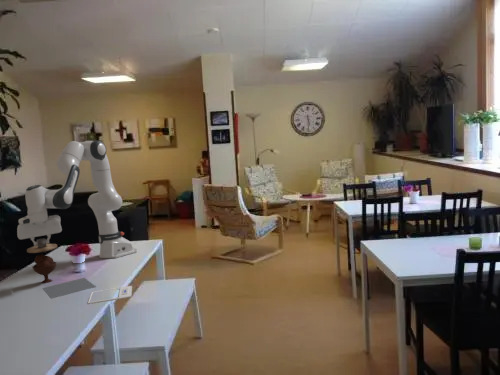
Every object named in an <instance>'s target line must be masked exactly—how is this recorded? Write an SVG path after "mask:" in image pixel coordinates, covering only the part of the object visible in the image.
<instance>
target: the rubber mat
mask: <svg viewBox="0 0 500 375" xmlns="http://www.w3.org/2000/svg"><path fill="white" fill-rule="evenodd" d="M96 287H97V286H96V285H95V284H93V283H92V282H91V281H89V280H88V279H87V278H85V277H82V278H81V277H80V278H78V279H74V280H70V281H65V282H62V283H58V284H53V285H50V286H44V287H42V290H43V291H44V292H45V293H46V294H47V295H48V297H49V298H50V299H56V298H58V297H62V296H66V295H70V294H74V293H78V292H82V291H85V290H88V289H89V290H90V289H93V288H96Z"/></svg>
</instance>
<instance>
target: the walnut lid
mask: <svg viewBox="0 0 500 375" xmlns="http://www.w3.org/2000/svg"><path fill="white" fill-rule="evenodd" d="M46 240H47V238H39V239H36V242H37V243H38V246H34V245H33V246H31V247H29V248H27V249H26V253H28V254H37V253H39V254H40V253H44V252H49V251H53V250H55V249H57V248H58V244H56V243H48V244H46Z"/></svg>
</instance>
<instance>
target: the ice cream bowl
mask: <svg viewBox="0 0 500 375" xmlns="http://www.w3.org/2000/svg"><path fill="white" fill-rule="evenodd" d="M34 263H35V264H34V265H33V266H32V270H33V271H34V272H35V273H37V274H38V275H41V276H43V277H44V280H42V281H41V284H47V283H48V284H49V283H51V282H53V279H50V278H49V275H50V274H51V273H53V271H54V270H55V269H56V267H57V262H56V261H55V260H54V259H53V258H52V257H51V256H50V255H46V254H44V253H42V254H40V253H39V254H37V255H36V256H35V258H34Z"/></svg>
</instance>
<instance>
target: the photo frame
mask: <svg viewBox="0 0 500 375" xmlns="http://www.w3.org/2000/svg"><path fill="white" fill-rule="evenodd" d="M115 289H117V290H118V287H115V288H113V290H115ZM110 290H111V288H108V289H106V291H110ZM103 291H105V289H102V290H99V292H103ZM97 292H98V290H95V291H91V294H90V296H89V299H88V302H87V304H88V305H90V304H89V303H91V304H98V303H103V302H110V301H116V300H121V299H122V300H123V299H128V298H132V294H133V293H132V292H133V285H128V286H122V287H119V293H118V297H115V298H108V299H102V300H95V301H91V300H92V297H93V294H94V293H97Z"/></svg>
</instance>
